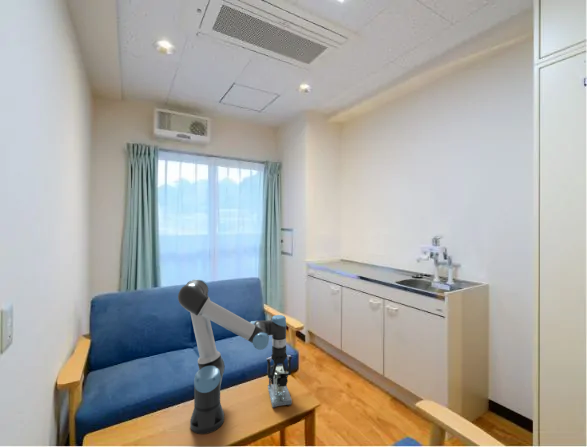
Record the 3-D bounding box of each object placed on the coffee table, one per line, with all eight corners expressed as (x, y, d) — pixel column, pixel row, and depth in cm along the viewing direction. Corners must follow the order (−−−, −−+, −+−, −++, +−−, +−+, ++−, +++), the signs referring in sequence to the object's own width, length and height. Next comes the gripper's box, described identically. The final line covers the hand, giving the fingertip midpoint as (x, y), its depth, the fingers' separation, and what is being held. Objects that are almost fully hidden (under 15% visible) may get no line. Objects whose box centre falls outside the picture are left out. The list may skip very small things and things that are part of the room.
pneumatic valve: (280, 384, 153) (281, 362, 153) (286, 396, 142) (288, 373, 142) (270, 385, 151) (272, 363, 151) (276, 397, 140) (278, 374, 140)
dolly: (272, 408, 138) (272, 382, 138) (267, 390, 153) (267, 366, 153) (291, 405, 140) (291, 379, 140) (285, 387, 155) (285, 363, 156)
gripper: (263, 350, 141) (263, 395, 141) (297, 346, 145) (297, 390, 145) (261, 344, 148) (261, 387, 148) (293, 340, 152) (293, 382, 152)
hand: (279, 388), depth 147 cm, fingers closed on pneumatic valve, 5 cm apart
